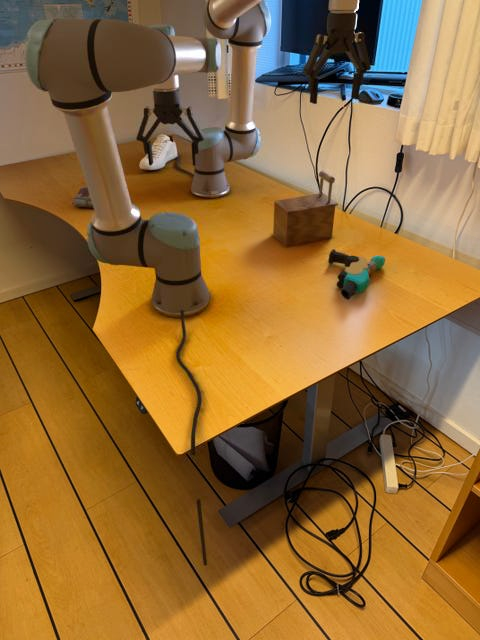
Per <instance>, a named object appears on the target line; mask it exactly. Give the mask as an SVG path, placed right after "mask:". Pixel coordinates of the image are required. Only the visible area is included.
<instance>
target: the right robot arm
mask: <svg viewBox="0 0 480 640" xmlns="http://www.w3.org/2000/svg"><path fill="white" fill-rule="evenodd" d="M359 3H360V0H328V11H330V12H329V13H328V14H327V18H326V19H327V21H326V30H327V31H326V35H323V34H318V33H317V34H316V35H315V38H314V45H313V46H312V49H311V51H310V54H309V56H308V58H307V60H306V62H305V65H304V67H303V69H302V74H303V75H305V76H307V77H308V84H307V85H308V86H307V89H308V91H309V92H310V93H309V103H311V104H313V105H317V104H318V92H319V82H320V81H319V80H320V79H319V77H317V76H318V75H319V73H320V72H321V71H322V69H323V67H324V66H325V65H326V63H327V62H328V60H329V59H330V57H332V56H333V55H335V54H340V53H341V54H346V55H347V57H348V58H349V59H350V62H351V64H352V66H353V67H354V69H355V71H356V72H353V76H352V85H351V86H352V87H351V94H350V98H351V99H354V100H360V99H359V98H360V91H361V86H363V82H364V75H366V74H367V72H368V71H370V70H371V69H372V66H371V62H370V57H369V54H368V50H367V46H366V42H365V41H366V34H365V32H361V31H357V32H356V33H355V30H356V28H357V21H358V13H357V12H356V11H358V10H359ZM202 20H203V25H204V27H205V29H206V30H207V31H208V33H209V34H210V35H211V36H213V37H214V38H215V39H220V40H227V44H228V45H229V46H230V47H231V72H230V92H229V93H230V96H229V117H228V119H227V120H226V121H225V123H224V130H223V129H222V128H221V127H218V126H211V127H205V128H200V129H201V131H202V133H203V135H204V140H203V141H200V142H199V153H198V154H196V162H197V163H196V165H195V166H193V170H194V173H192V172H190V171H188V170H186V169H184V168H183V167H181V166H180V165H179V161H180V153H179V152H178V151H177V154H178V156H177V157H176V160H175V161H176V162H175V165H176V168H177V169H178V170H179V171H181V172H183V173H186V174H187V175H190V176H191V177H193V178H192V183H191V187H190V190H191V191H190V193H191V195H193V196H195V197H197V198H200V199H217V198H222V197H225V196H227V195H228V194H229V193H230V190H231V189H230V184H229V181H228V179H227V175H226V172H225V163H232V162H236V161H241V160H248V159H249V158H253V157H254V156H255V155H257V154H258V152H259V151H260V148H261V143H262V141H261V140H262V139H261V133H260V131H259V129H258V127H257V126H256V123H255V122H254V120H253V114H254V113H253V112H254V98H255V85H256V70H257V56H258V50H259V49H260V48H261V47H262V45H263V38H264V37H266V36H268V34H269V33H270V30H271V27H272V16H271V11H270V8H269V6H268V3H267V2H266V0H207V1H206V3H205V4H204V6H203V10H202ZM354 42H355V45H356V46H355V47H356V48H355V47H354V45H353V43H354ZM325 44H326V45H325ZM324 45H325V47H324ZM323 47H324V48H323ZM322 49H323V50H322ZM356 50H357V52H356ZM321 51H322V53H321ZM194 134H195V135H196V136H197V134H196V132H194ZM197 137H198V136H197Z"/></svg>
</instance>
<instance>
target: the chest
mask: <svg viewBox="0 0 480 640" xmlns="http://www.w3.org/2000/svg"><path fill="white" fill-rule="evenodd" d="M335 213H336V206H333V207H327V208H322V209H316V210H311V211H305V212H299V213H294V214H288V215H287V214H286V213H285V212H284V211H283V210H281V209H280V208H279V207H278V206H277V205H276V204H274V203H273V230H272V235H273V236H274V237H275V238H276V239H277V240H278V241H279V242H280V243H281V244H282V245H283V246H284V247H285V248H288V247H292V246H297V245H301V244H307V243H312V242H317V241H322V240H327V239H332V238H333V231H334V222H335Z"/></svg>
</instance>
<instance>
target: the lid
mask: <svg viewBox="0 0 480 640" xmlns="http://www.w3.org/2000/svg"><path fill="white" fill-rule="evenodd" d="M318 177H319V178H320V179H319V181H320V182H319V193H314V194H309V195H302V196H296V197H290V198H285V199H284V198H283V199H278V200H274V201H273V205H274V204H276V205H277V206H278V207H279V208H280V209H281V210H283V211H284V212H285V213H286V214H287V215H288V214H294V213H299V212H305V211H311V210H316V209H322V208H327V207H333V206H335V207H337V206H338V205H339V203H338V202H336V201H335V200H334V199H332V191H333V184H334V183H335V181H336V179H335V177H333V176H332V175H331V174H329V173H327V172H326V171H324V170H320V172H319V173H318ZM324 181H325V182H327V183H328V193H327V194H325V193H324V192H323V189H324V188H323V187H324Z"/></svg>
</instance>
